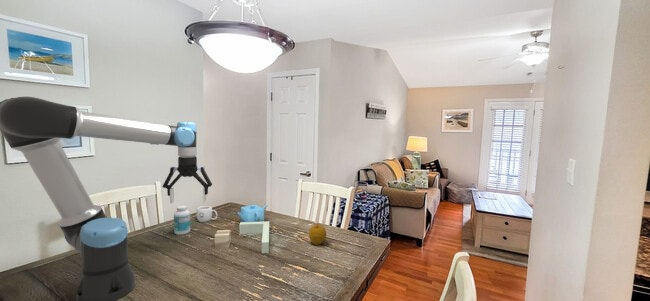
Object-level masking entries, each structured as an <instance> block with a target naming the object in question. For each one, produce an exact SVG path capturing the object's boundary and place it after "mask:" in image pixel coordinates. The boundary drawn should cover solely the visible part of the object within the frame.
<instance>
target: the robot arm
mask: <svg viewBox="0 0 650 301" xmlns="http://www.w3.org/2000/svg"><path fill="white" fill-rule="evenodd" d="M0 133H1V134H2V137H3V138H4V139H5V141H6V142H7V144H8V145H9V147H10V149H12V150H15V151H19V152H21V153H22V154H23V157H24V158H25V159H26V161H27V163H28V164H29V166H30V167H31V169H32V171H33V172H34V174H35V176H36V178H37V179H38V181H39V182H40V184H41V185H42V187H43V189H44V190H45V192H46V194H47V195H48V197H49V199H50V200H51V202H52V203H53V205H54V208H55V209H56V210H57V212H58V213H59V215H60V217H61V218H60V220H59V222H58V226H59V228H60V229H61V231H62V232H63V236H64V239H65V241H66V243H67V244H68V245H70V246H71V247H73V248H74V249H75V250H76V251H77V252H78V253H79V254H80V255H81V269H82V274H81V275H82V276H81V279H80V281H79V283H78V288H77V290H76V293H75V301H116V300H119V299H121V298H122V297H124V296H126V295H128V294H129V293H130V292H132V290H134V289H135V287H136V276H135V274H134V272H133V270H132V268H131V267H130V264H129V248H128V246H129V245H128V244H129V242H128V241H129V240H128V234H129V233H128V232H129V230H128V227H127V222H126V221H125V220H124V219H122V218H118V217H107V215H106V213H105V212H104V209H103V208H102V206H101V205H96V204H94V202H93V200H92V199H91V197H90V195H89V194H88V192H87V190H86V188H85V186H84V185H83V183H82V181H81V179H80V177H79V176H78V174H77V172H76V170H75V168H74V167H73V164H72V163H71V160H70V159H69V157H68V155H67V154H66V153H67V152H65V150H64V148H63V147H62V145H61V143H60V141H61V139H68V140H71V139H74V138H76V137H83V138H92V139H93V138H94V139H104V140H113V141H114V140H115V141H122V142H123V141H124V142H133V143H145V144H150V145H157V146H158V145H165V146H175V147H177V155H178V157H177V158H178V159H177V163H178V164H177V167H175V166H171V167H170V168H169V173H168V175H167V177H166V179H165V181H164V182H163V185H162V188H163V189H166V190H167V196H168V197H169V204H173V203H174V202H175V200H174V199H175V197H174V185H175V184H176V183H177V182H178V181H179V180H180V179H181V178H182V177H183V178H186V177H188V178H191V177H193V178H194V179H195V180H197V182H199V184H200V185H201V186H202V187H203V188H202V203H206V200H207V196H208V193H209V188H210V187H212V186H213V183H212V181H211V180H210V178H209V175H208V174H207V172H206V170H205V166H203V165H202V166H200V167H199V166H198V162H197V160H198V158H197V154H198V153H197V151H198V150H197V124H196V123H195V122H190V121H188V122H187V121H179V122H177V124H176V125H169V124H164V123H157V122H151V121H146V120H145V121H144V120H139V119H134V118H133V119H132V118H125V117H121V116H113V115H106V114H101V113H94V112H89V111H84V110H83V111H81V110H80V109H79V108H78V107H76V106H72V105H66V104H62V103H59V102H54V101H50V100H46V99H43V98H40V97H39V98H38V97H35V96H17V97H11V98H6V99H4V100H1V101H0ZM176 171H177V172H178V174H177V176H176V177H175V178H174V179H173V180H172V177H173V176H174V174H175V173H176ZM198 171H199V172H200V173H201V175H202V177H203V178H202V177H201V176H200V175H199V174H198ZM171 180H172V181H171ZM170 181H171V183H170Z"/></svg>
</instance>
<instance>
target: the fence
mask: <svg viewBox="0 0 650 301" xmlns="http://www.w3.org/2000/svg"><path fill="white" fill-rule="evenodd" d="M238 226H239V235H244V234H245V235H246V234H262V236H261V254H269V253H270V252H269V249H270V221H269V220H268V221H265V220H264V222H241V221H240V223H239V225H238Z"/></svg>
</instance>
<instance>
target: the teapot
mask: <svg viewBox="0 0 650 301" xmlns="http://www.w3.org/2000/svg"><path fill="white" fill-rule="evenodd" d="M267 207H269V205H268V204H266V205H264V206H263V207H261V206H259V205H257V204H250V205H246V206H241V207H240V211H238V212H237V214H236V215H238V216H239V217H240V222H264V221H265V210H266V208H267Z"/></svg>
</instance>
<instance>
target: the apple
mask: <svg viewBox="0 0 650 301" xmlns="http://www.w3.org/2000/svg"><path fill="white" fill-rule="evenodd" d="M308 237H309V240H310V241H311V243H312V244H313V245H316V246H319V245H322V243H324V241H325V240H326V238H327V229H326V228H325V226H323V225H320V224H313V225H312V226H310V228H309V230H308Z"/></svg>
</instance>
